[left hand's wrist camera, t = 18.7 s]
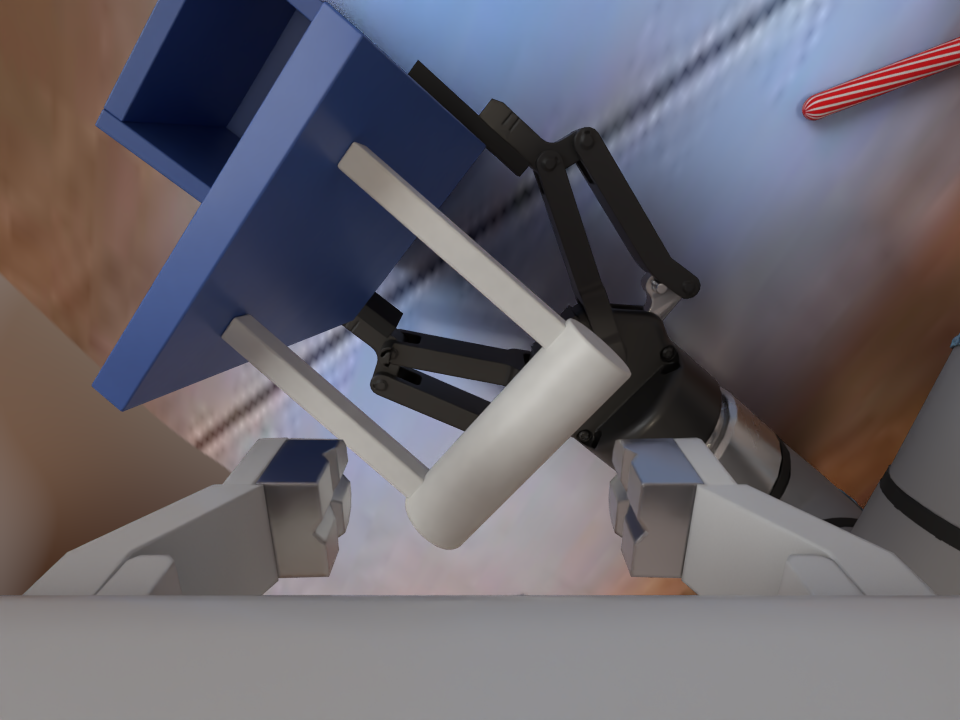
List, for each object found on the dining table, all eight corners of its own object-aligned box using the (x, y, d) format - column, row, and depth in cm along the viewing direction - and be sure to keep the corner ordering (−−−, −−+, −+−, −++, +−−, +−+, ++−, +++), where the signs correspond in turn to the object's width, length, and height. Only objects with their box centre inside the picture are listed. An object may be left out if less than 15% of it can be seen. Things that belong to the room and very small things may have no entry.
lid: (89, 386, 12) (394, 646, 12) (323, -2, 9) (711, 340, 10) (337, 307, 24) (487, 437, 25) (469, 130, 22) (636, 278, 22)
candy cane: (779, 16, 30) (793, 10, 29) (1070, -109, 28) (1101, -123, 27) (798, 126, 32) (813, 125, 31) (1072, 17, 30) (1101, 10, 29)
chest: (212, 129, 32) (93, 125, 22) (299, -18, 29) (207, -101, 19) (384, 262, 35) (348, 310, 25) (477, 139, 32) (478, 138, 22)
